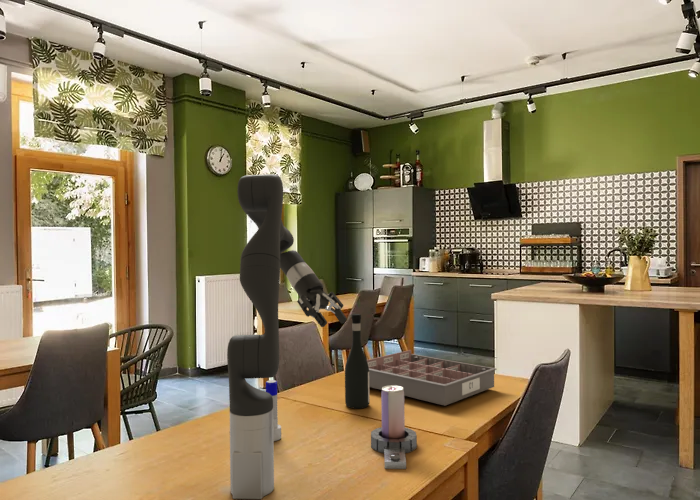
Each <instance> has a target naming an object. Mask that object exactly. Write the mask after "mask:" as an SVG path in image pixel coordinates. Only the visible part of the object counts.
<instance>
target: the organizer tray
mask: <svg viewBox="0 0 700 500" xmlns="http://www.w3.org/2000/svg"><path fill="white" fill-rule="evenodd" d="M366 360H367V363H368V367H369V388H372V389H377V390H380V391H382V387H384V386H389V385H395V386H401V387H403V390H404V397H409V398H413V399H415V400H416V399H417V400H421V401H425V402H429V403H432V404H437V405H441V406H447V405H450V404H453V403H455V402H458V401H460V400H464V399H466V398H469V397H472V396H473V395H476V394H479V393H481V392H484V391H487V390H489V389H493V388H495V371H496V370H497V368H495V367H491V366H484V365H479V364H471V363H466V362H460V361H455V360H449V359H443V358H437V357H431V356H426V355H421V354H414V353H412V349H408V350H405V351H400V352H395V353H391V354H386V355H383V356H379V357H375V358H370V359H366Z"/></svg>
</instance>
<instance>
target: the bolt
mask: <svg viewBox="0 0 700 500" xmlns="http://www.w3.org/2000/svg"><path fill="white" fill-rule="evenodd" d="M265 392H268V393H269V394H271V395H272V398H273V442H277V441H279V440H281V438H282V425H280V424H278V423H279V422H278V421H279V420H278V419H279V418H278V415H279V413H278V381H277V380H275V379H271V380H267V381H266V382H265Z"/></svg>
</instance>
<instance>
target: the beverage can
mask: <svg viewBox="0 0 700 500" xmlns="http://www.w3.org/2000/svg"><path fill="white" fill-rule="evenodd" d="M380 393H381V398H380V399H381V404H380V405H381V427H382V438H386V439H403V438H405V428H406V426H405V422H406V421H405V420H406V419H405V396H404V390H403V387H401V386H395V385H389V386H384V387H382V390H381V392H380Z"/></svg>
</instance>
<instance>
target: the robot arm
mask: <svg viewBox="0 0 700 500" xmlns="http://www.w3.org/2000/svg"><path fill="white" fill-rule="evenodd" d="M283 184H284V183H283V180H282V178H281V177H280V176H279V175H278V174H273V173H269V174H268V173H267V174H248V175H244V176H241V177H240V178H239V180H238V182H237V197H238V198H237V199H238V203H239V205H240V208H241V209H242V211H244V213H245V214H246V216H248V218H249V219H251V221H252V222H253V223H254V224H255V225H256V227H257V230H256V232H255V233H254V234H253V235H252V237H251V238H250V239H249V241H248V242H247V243H246V244H245V246H244V248H243V250H242V252H241V256H240V263H239V265H240V268H239V282H240V286H241V287H242V289H243V291H244V293H245V294H246V296H247V297H248V299H249V300H250V301H251V303H252V305H253V306H254V308H255V310H256V311H257V313H258V315H259V318H260V320H261V322H262V325H263V328H264V334H237V335H233V336H232V337H230V339H229V342H228V345H227V349H226V352H227V353H226V356H227V357H226V358H227V374H228V394H229V395H228V396H229V399H228V400H229V457H230V458H229V461H230V462H229V465H230V466H229V468H230V470H229V471H230V472H229V474H230V477H229V478H230V493H231V496H232V499H235V500H238V499H239V500H241V499H242V500H262V499H263V498H264V497H265V496H267V495H270V494H271V493H272V492H273V490H274V489H275V469H274V468H275V466H274V465H275V460H274V459H275V458H274V455H275V453H274V452H275V451H274V446H275V445H274V444H275V443H274V441H273V398H272V395H271V394H269V393H268V392H266V390H261V389H259V388H257V387H255V386H253V385H251V384H250V383H248V381H247V380H248V379H270V378H274V377H275V376H276V375H277V374H278V372H279V366H280V335H279V334H280V331H279V327H280V326H279V296H280V294H279V293H280V279H281V271H282V272H283V273H284V275H285V276H286V278H287V280H288V282H289V283H290V285H291V286H292V288H293V289H294V291H295V292H296V293H297V295H298V296H299V298H298V299H297V301H296V302H297V304H298V305H299V307H300V308H301V310H302V311H303V313H304V315H305V316H306V317H307V318H309V317H312V319H314V320H315V321H316V323H317V324H318V325H319V326H320V327H321V328H324V327H325V326H326V325H327V324H328V321H327V319H326V318H325V317H324V315H323V314H322V312H320V310H326V312H331V313H333V314H334V316H335V317H336V319H337V320H338V321H339V323H340V324H345V322H347V317H346V315H345V313H344V312H343V311H342V308H343V307H344V306H345V305H344V304H343V302H342V301H341V300H340V299H339V298H338V296H337V295H336V294H335V292H333V291H330V292H329V293H326V292H325V291H324V284H323V283H322V281H321V280H320V278H318V275H316V273H315V272H314V270H313V269H312V268H311V267H310V266H309V265H308V264H307V263H306V261H305V260H304V259H303V256H301V255H300V253H299V252H298V251H297V250H294V249H292V250H289V251H288V249H290V248H291V247H292V246H293V244H294V241H295V239H294V235H293V234H292V233H291V231H290V230H289V229H288V228H287V227H286V226H284V222H283V221H282V215H283V214H282V213H283V204H284V185H283ZM246 379H247V380H246Z"/></svg>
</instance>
